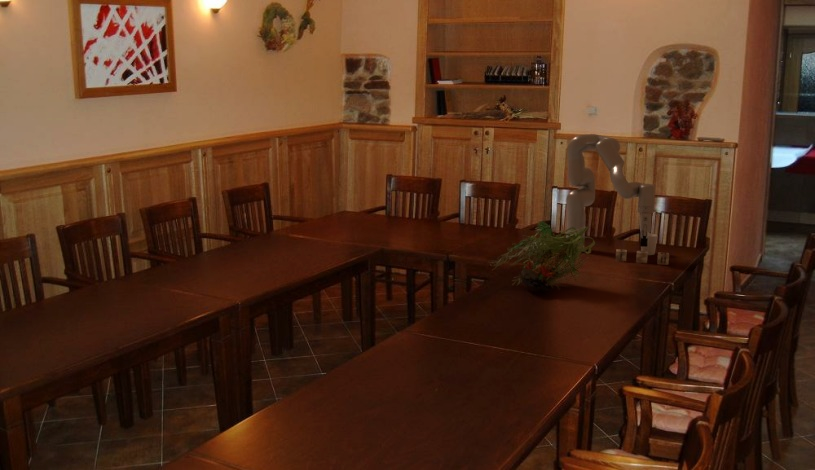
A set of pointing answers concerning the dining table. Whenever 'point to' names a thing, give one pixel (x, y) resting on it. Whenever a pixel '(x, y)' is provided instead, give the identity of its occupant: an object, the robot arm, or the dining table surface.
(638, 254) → the plain maple block
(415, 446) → the dining table surface
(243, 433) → the dining table surface
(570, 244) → the plant
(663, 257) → the marked block right
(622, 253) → the marked block left
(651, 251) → the white cup
